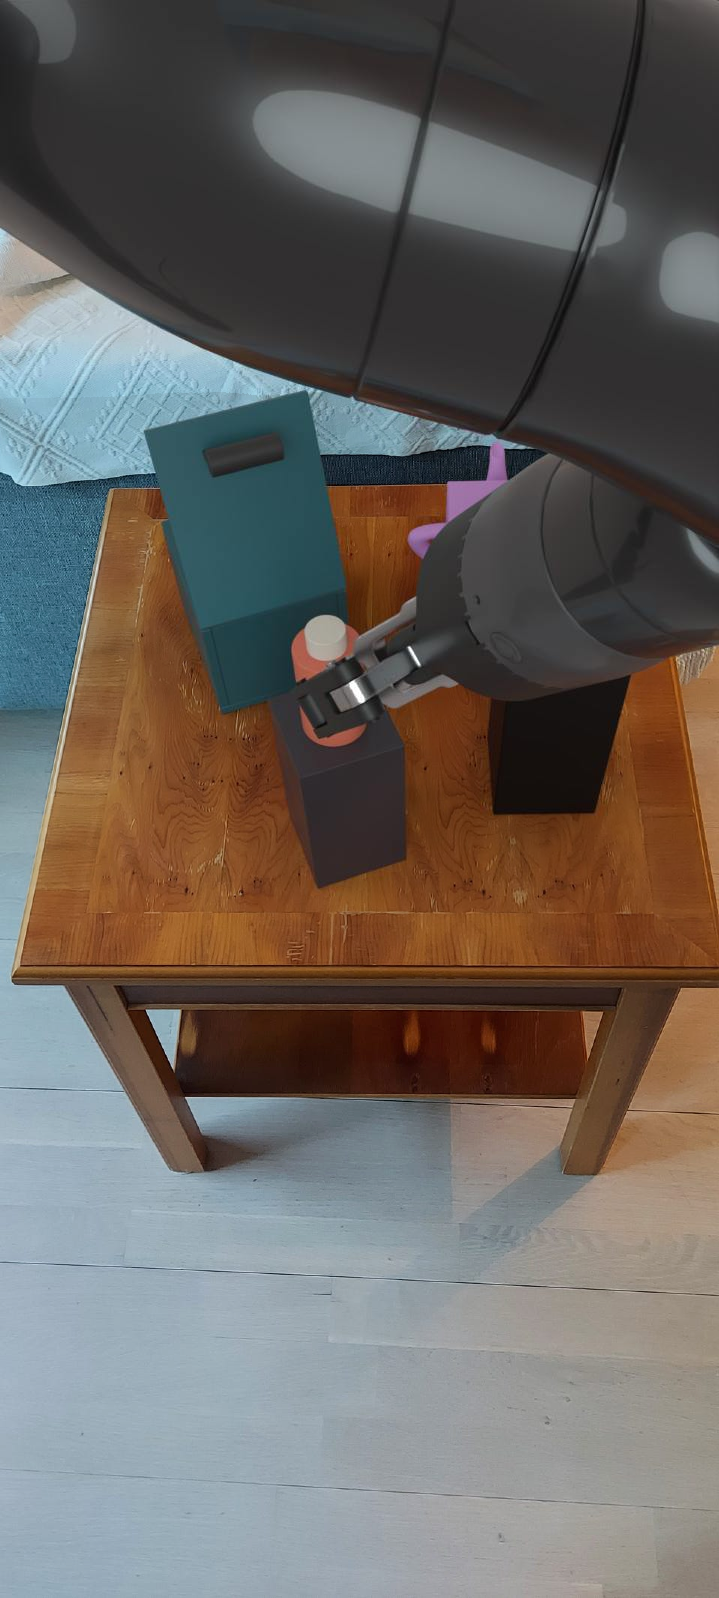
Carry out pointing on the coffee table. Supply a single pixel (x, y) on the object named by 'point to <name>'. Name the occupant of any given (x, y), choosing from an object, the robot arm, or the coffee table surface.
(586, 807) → the tissue box
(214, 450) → the case lid
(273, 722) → the stand
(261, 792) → the coffee table surface
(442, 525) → the teapot
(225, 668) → the wipes case
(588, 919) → the coffee table surface
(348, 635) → the lotion bottle
